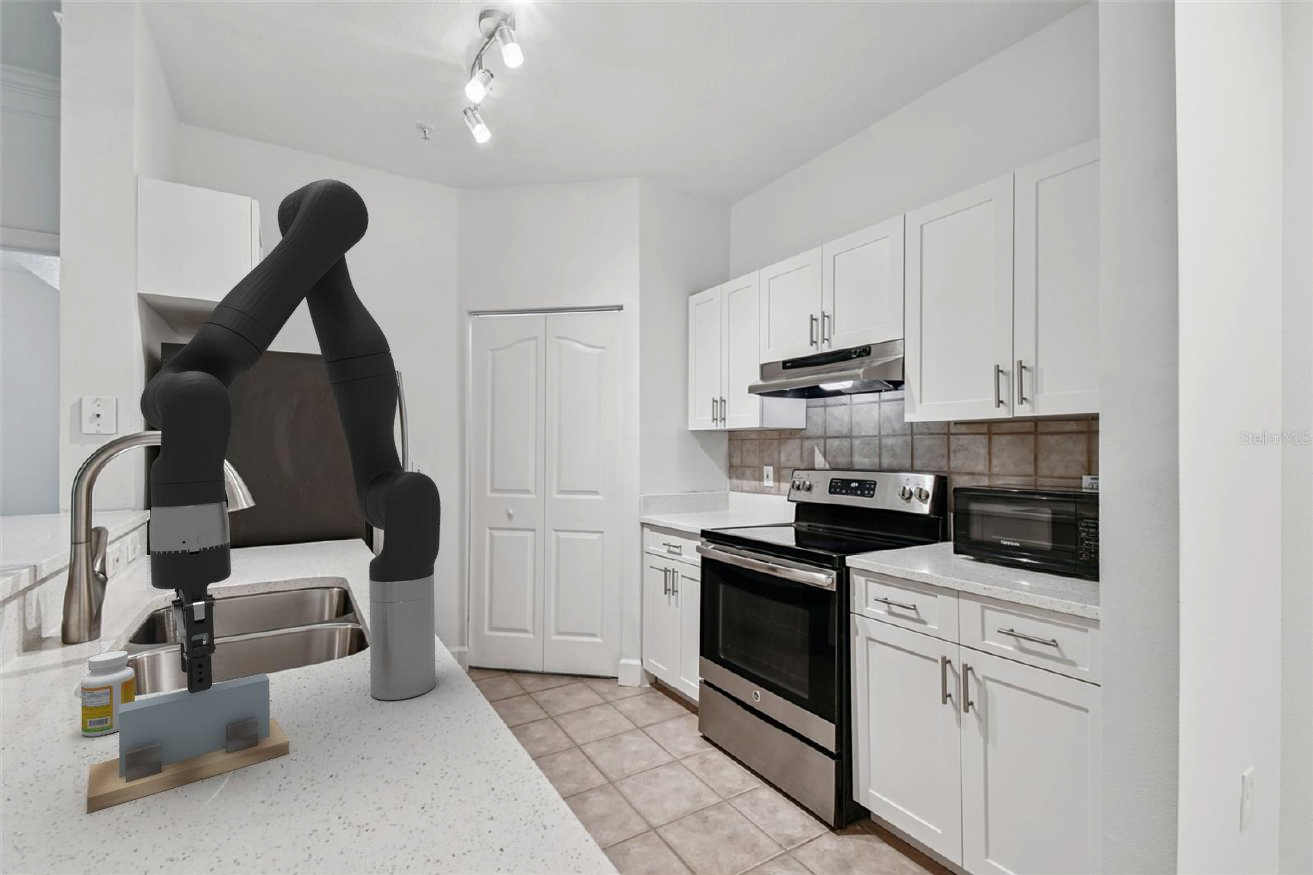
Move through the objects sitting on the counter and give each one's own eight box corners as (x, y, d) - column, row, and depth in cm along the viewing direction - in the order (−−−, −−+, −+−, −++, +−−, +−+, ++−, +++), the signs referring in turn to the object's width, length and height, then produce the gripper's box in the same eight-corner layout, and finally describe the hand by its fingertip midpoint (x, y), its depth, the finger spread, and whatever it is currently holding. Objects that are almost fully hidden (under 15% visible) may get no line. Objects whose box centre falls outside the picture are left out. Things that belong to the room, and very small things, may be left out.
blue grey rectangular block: (265, 728, 78) (264, 673, 79) (269, 736, 76) (269, 679, 76) (119, 767, 69) (119, 704, 69) (119, 778, 67) (119, 712, 67)
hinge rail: (274, 729, 82) (274, 694, 82) (289, 753, 75) (288, 715, 75) (89, 779, 70) (89, 738, 70) (87, 813, 63) (87, 768, 63)
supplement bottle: (125, 716, 87) (125, 646, 87) (142, 724, 84) (141, 652, 84) (74, 732, 82) (74, 658, 82) (90, 741, 79) (90, 665, 79)
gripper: (147, 540, 76) (152, 673, 76) (152, 554, 65) (158, 708, 65) (221, 532, 81) (226, 657, 81) (238, 544, 70) (243, 687, 70)
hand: (196, 680), depth 73 cm, fingers open, 8 cm apart
